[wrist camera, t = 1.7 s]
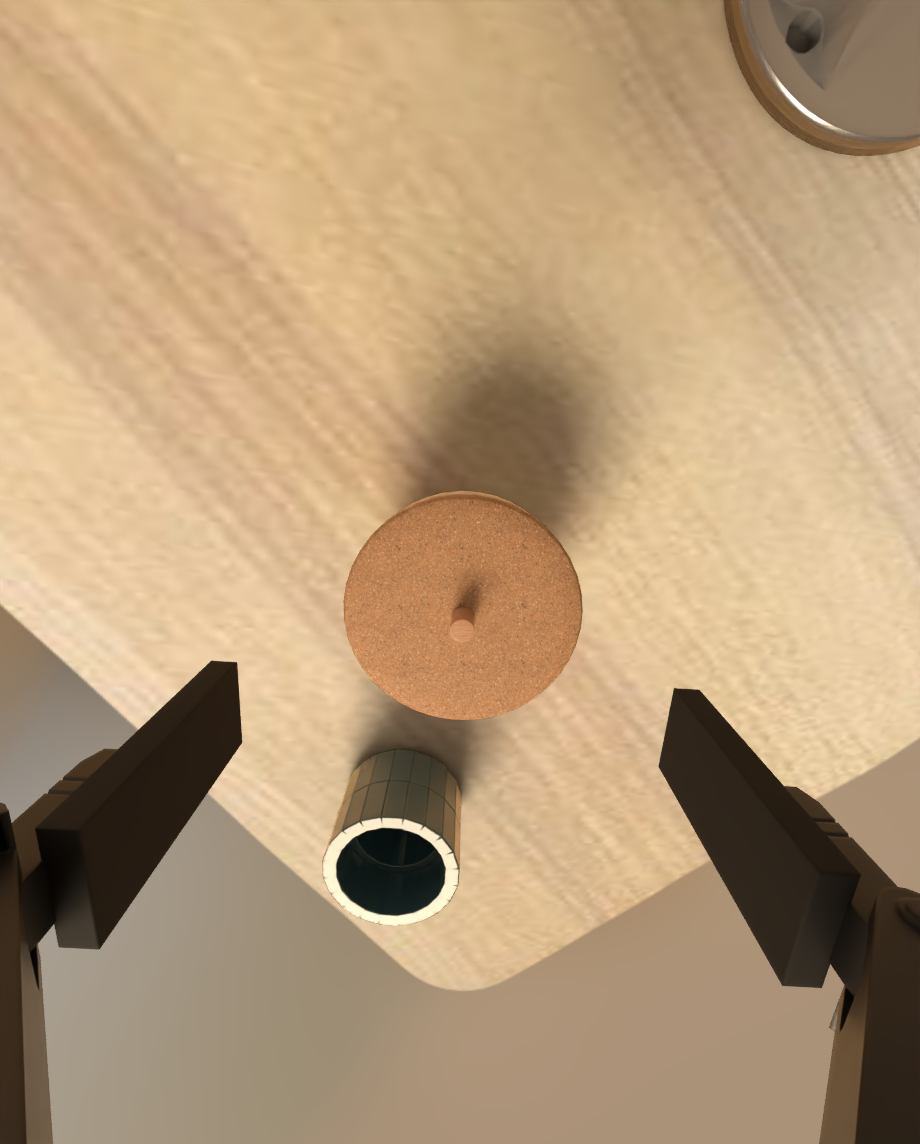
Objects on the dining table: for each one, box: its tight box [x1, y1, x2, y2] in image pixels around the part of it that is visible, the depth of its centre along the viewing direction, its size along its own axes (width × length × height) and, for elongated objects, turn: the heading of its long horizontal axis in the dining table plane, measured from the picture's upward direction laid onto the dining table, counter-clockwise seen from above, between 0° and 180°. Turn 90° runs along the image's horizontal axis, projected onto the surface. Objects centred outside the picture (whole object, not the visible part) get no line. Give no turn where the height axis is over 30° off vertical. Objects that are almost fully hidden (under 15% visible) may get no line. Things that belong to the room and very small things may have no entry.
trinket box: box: [344, 491, 583, 720], centre depth 26 cm, size 11×11×9 cm
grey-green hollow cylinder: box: [323, 750, 461, 926], centre depth 32 cm, size 8×8×6 cm
